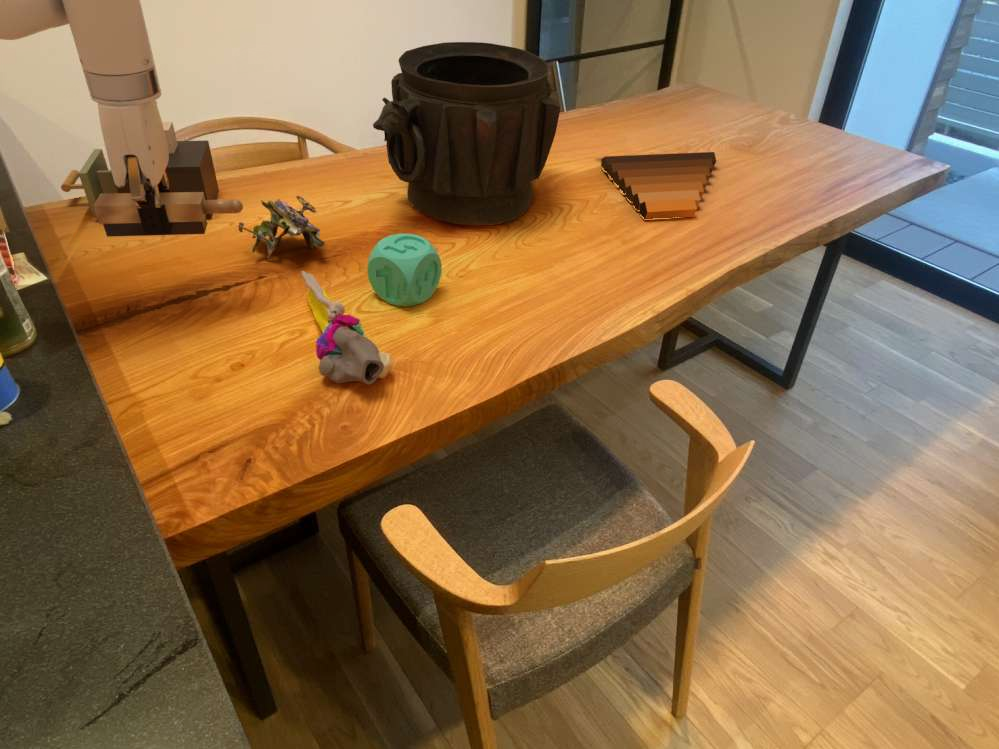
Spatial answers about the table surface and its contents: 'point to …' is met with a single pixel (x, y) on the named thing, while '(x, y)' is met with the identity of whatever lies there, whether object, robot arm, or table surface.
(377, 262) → the decorative dice
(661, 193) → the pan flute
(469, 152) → the vessel
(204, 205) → the brush
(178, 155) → the dark wooden cuboid
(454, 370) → the table surface
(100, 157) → the drawer
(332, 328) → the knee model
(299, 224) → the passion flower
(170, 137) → the felt block
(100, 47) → the robot arm
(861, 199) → the table surface
